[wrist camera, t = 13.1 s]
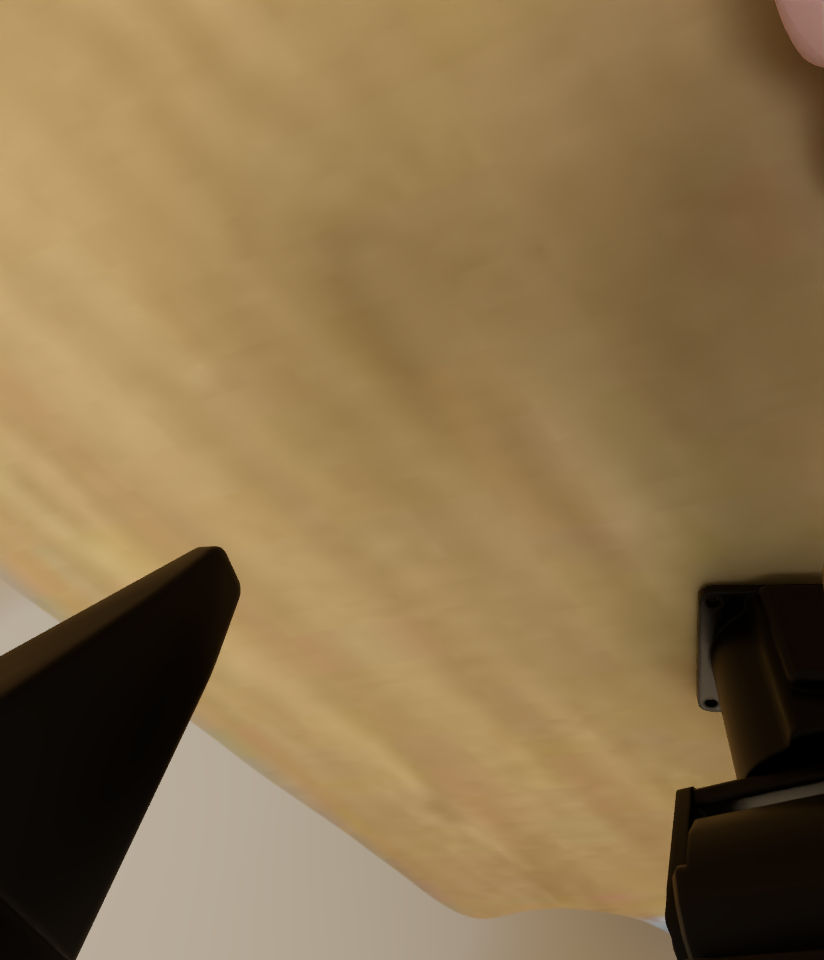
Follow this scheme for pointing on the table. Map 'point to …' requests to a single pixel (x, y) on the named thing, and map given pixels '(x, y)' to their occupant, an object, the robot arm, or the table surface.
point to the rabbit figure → (804, 27)
